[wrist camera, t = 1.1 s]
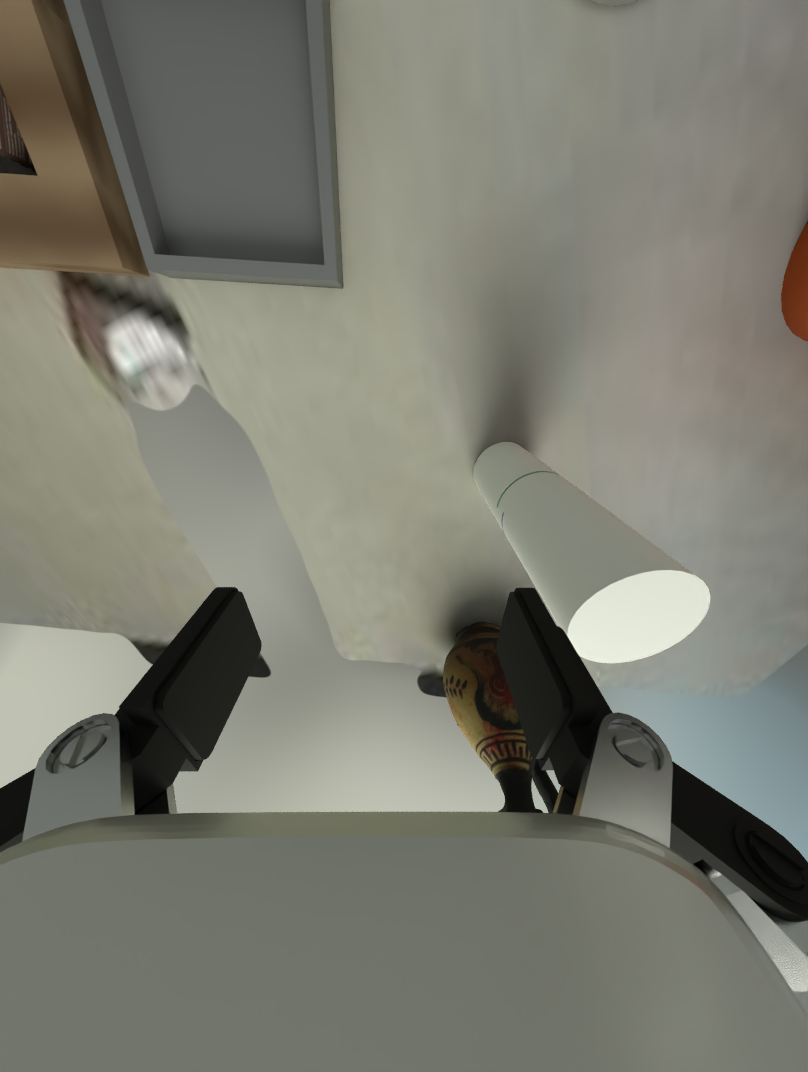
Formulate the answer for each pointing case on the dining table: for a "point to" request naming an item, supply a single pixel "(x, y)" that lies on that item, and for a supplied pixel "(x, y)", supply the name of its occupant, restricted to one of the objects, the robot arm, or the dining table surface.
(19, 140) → the box
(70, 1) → the tray
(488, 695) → the ceramic jug
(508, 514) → the cylindrical container
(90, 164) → the socket board
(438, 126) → the dining table surface
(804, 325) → the flowerpot
